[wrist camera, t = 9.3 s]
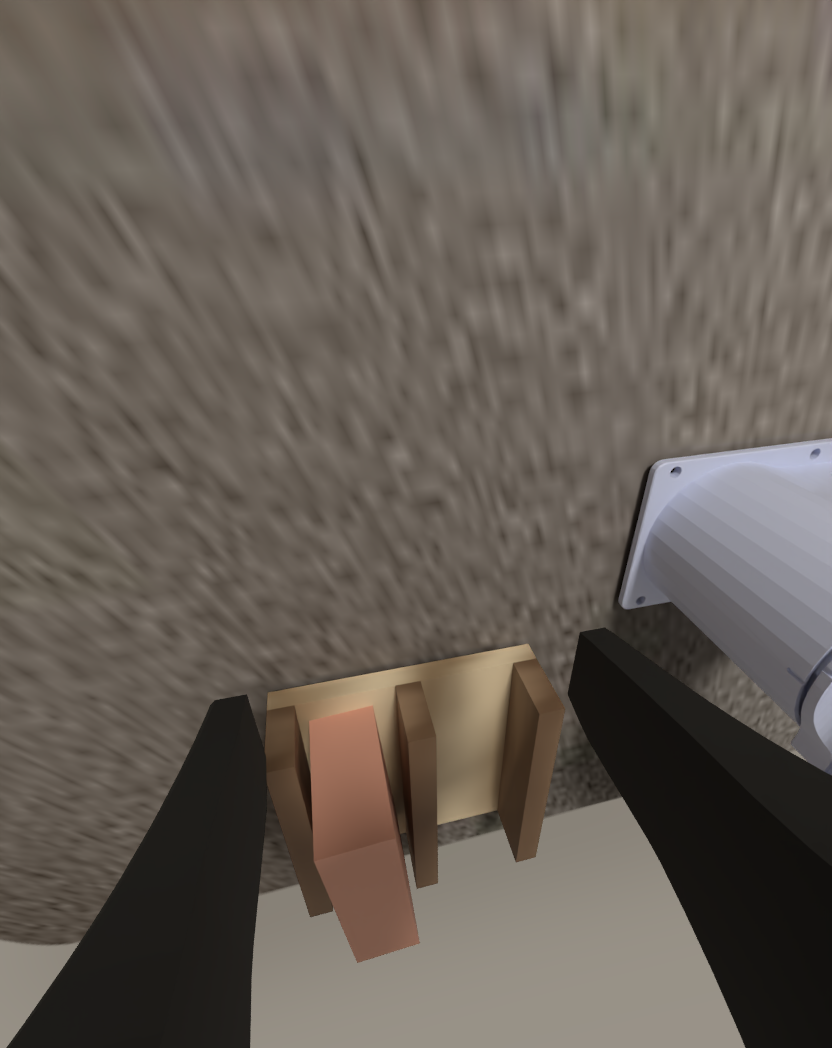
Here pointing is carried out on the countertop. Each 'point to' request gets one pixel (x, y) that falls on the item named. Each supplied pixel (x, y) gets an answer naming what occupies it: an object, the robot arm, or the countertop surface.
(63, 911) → the countertop surface
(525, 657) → the book rack
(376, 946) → the book
